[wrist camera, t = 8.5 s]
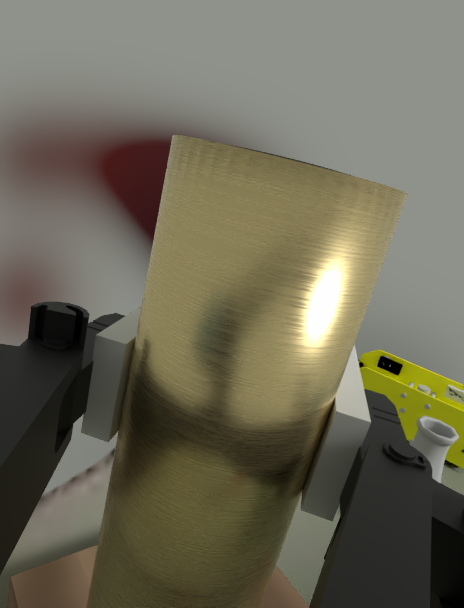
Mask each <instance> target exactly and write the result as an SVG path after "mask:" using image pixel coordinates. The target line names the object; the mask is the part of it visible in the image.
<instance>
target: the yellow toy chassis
mask: <svg viewBox="0 0 464 608" xmlns="http://www.w3.org/2000/svg"><path fill="white" fill-rule="evenodd" d="M384 356H388V357H389V358H390V359H388V358H386V357H384ZM379 358H380V359H379ZM378 361H379V362H378ZM383 364H384V365H383ZM389 365H391V366H390V367H389ZM359 368H360V373H361V377H362V382H363V387H364V389H367V390H371V391H374V392H377V393H380V394H384V395H386V396H387V397H388V399H389V400H390V401H391V402H392V403H393V404H394V405H395V407H396V410H397V413H398V417H399V418H400V421H401V425H402V427H403V430H404V433H405V436H406V439H407V440H408V441H409V444H411V442H412V441H413V439H414V437H415V435H416V432H417V430H418V426H417V420H418V419H419V418H420V417H422V416H428V417H431V418H435V419H438V420H440V421H442V422H444V423H445V424H447V425H449V426H451V427H453V428H454V429H455V431H456V433H457V434H458V436H459V438H458V440H457V441H456V442H455V443H453V444H452V445H451V446H450V447H449V449H448V452H447V454H446V457H445V460H447V461H449V462H451V463H453V464H455V465H457V466H459V467H461V468H463V469H464V400H463V399H464V391H463V390H464V385H462V384H460V383H458V382H455V381H453V380H450V379H448V378H446V377H443V376H441V375H438V374H436V373H434V372H431V371H429V370H427V369H425V368H422V367H420V366H417V365H415V364H413V363H410V362H408V361H406V360H403V359H401V358H399V357H396V356H394V355H391V354H389V353H387V352H384V351H382V350H376V351H372V352H369V353H364V354H362V356H361V358H360V361H359ZM458 394H459V397H457V395H458Z"/></svg>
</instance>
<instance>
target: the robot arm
mask: <svg viewBox="0 0 464 608" xmlns="http://www.w3.org/2000/svg"><path fill="white" fill-rule="evenodd" d="M140 312H141V307H139V308H138V309H136V310H135V311H133V312H131V313H130V314H128V315H127V316H124V315H120V314H117V313H114V314H109V315H104V316H101V317H99V318H97V319H96V320H94V321H93V322H90V323H88V319H89V313H88V312H87V311H86V310H85V309H83V308H82V307H80V306H77V305H73V304H70V303H63V302H43V303H37V304H35V305H33V306H31V314H30V324H29V334H28V339H27V340H26V341H25V342H23V343H22V344H21V345H20V346H11V345H5V344H0V575H1V573H2V571H3V569H4V567H5V565H6V563H7V561H8V559H9V557H10V556H11V554H12V552H13V550H14V548H15V546H16V544H17V542H18V540H19V538H20V536H21V534H22V532H23V531H24V529H25V527H26V525H27V523H28V521H29V519H30V517H31V515H32V513H33V511H34V509H35V507H36V506H37V504H38V502H39V500H40V498H41V496H42V494H43V492H44V490H45V488H46V486H47V484H48V482H49V481H50V479H51V477H52V475H53V473H54V471H55V469H56V467H57V465H58V463H59V461H60V459H61V457H62V456H63V454H64V452H65V450H66V448H67V446H68V444H69V442H70V440H71V436H72V428H73V423H74V422H75V421H76V420H77V419H78V418H79V417H81V416H82V415H83V414H84V417H83V423H82V429H81V433H84V434H86V435H89V436H92V437H95V438H98V439H101V440H104V441H106V442H109V441H110V440H111V439H112V437H113V436H114V435H115V434H116V433H117V432H118V430H119V426H120V421H121V415H122V410H123V405H124V399H125V394H126V388H127V383H128V377H129V372H130V366H131V361H132V355H133V350H134V345H135V339H136V334H137V328H138V323H139V317H140ZM339 503H340V513H341V516H340V519H339V521H338V524H337V526H336V529H335V531H334V534H333V537H332V539H331V542H330V544H329V547H328V549H327V552H326V554H325V557H324V559H325V561H324V564H323V567H322V570H321V573H320V576H319V579H318V582H317V585H316V588H315V591H314V594H313V597H312V600H311V603H310V606H309V608H464V496H463V495H462V494H460V493H458V492H456V491H454V490H452V489H450V488H448V487H446V486H444V485H443V484H441V483H439V482H437V481H436V480H434V479H433V478H432V467H431V464H430V462H429V461H428V459H427V458H426V457H425V456H424V455H423V454H422V453H421V452H419V451H418V450H417V449H416V448H414V447H413V446H411V445H409V444H408V442H407V439H406V436H405V433H404V430H403V427H402V425H401V421H400V418H399V417H398V413H397V410H396V407H395V405H394V404H393V403H392V402H391V401H390V400H389V399H388V397H387V396H386V395H384V394H380V393H377V392H374V391H371V390H367V389H364V387H363V382H362V377H361V373H360V368H359V364H358V359H357V354H356V350H355V345H354V346H353V349H352V352H351V355H350V357H349V360H348V363H347V366H346V369H345V371H344V374H343V377H342V380H341V383H340V386H339V388H338V391H337V394H336V397H335V399H334V402H333V405H332V408H331V411H330V413H329V416H328V419H327V422H326V425H325V428H324V430H323V433H322V436H321V439H320V442H319V444H318V447H317V450H316V453H315V456H314V459H313V461H312V464H311V467H310V470H309V473H308V475H307V478H306V481H305V484H304V487H303V489H302V500H301V510H302V511H305V512H308V513H310V514H313V515H316V516H319V517H322V518H325V519H327V520H330V521H333V519H334V516H335V513H336V511H337V508H338V506H339Z"/></svg>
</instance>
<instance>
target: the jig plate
mask: <svg viewBox="0 0 464 608" xmlns="http://www.w3.org/2000/svg"><path fill="white" fill-rule="evenodd" d="M97 546H98V545H95V546H92V547H90V548H87V549H84V550H81V551H79V552H76V553H73V554H71V555H68V556H65V557H62V558H60V559H57V560H54V561H51V562H49V563H46V564H43V565H40V566H38V567H35V568H32V569H30V570H27V571H24V572H21V573H19V574H16V575H13V576H11V577H10V586H9V595H8V603H7V608H86V606H87V601H88V595H89V590H90V584H91V579H92V573H93V568H94V563H95V557H96V552H97ZM261 608H309V606H308V605H307V603H306V602H305V601H304V600H303V598H302V597H301V596H300V595H299V593H298V592H297V591H296V590H295V588H294V587H293V586H292V585H291V583H290V582H289V581H288V580H287V578H286V577H285V576H284V575H283V573H282V572H281V571H280V570H279V568H278V567H277V566H275V569H274V571H273V574H272V577H271V580H270V583H269V586H268V588H267V591H266V594H265V597H264V600H263V602H262V605H261Z"/></svg>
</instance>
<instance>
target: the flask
mask: <svg viewBox="0 0 464 608" xmlns="http://www.w3.org/2000/svg"><path fill="white" fill-rule="evenodd" d="M417 426H418V430H417V432H416V435H415V437H414V439H413V441H412V442H411V444H410V445H411V446H413V447H414V448H416V449H417V450H418V451H419V452H421V453H422V454H423V455H424V456H425V457H426V458H427V459H428V461H429V462H430V464H431V467H432V478H433V479H434V480H436V481H437V482H439V483H441V475H442V470H443V466H444V461H445V457H446V454H447V452H448V449H449V447H450V446H451V445H452V444H453V443H455V442H456V441H457V440H458V438H459V436H458V434H457V433H456V431H455V429H454V428H453V427H451V426H449V425H447V424H445V423H444V422H442V421H440V420H438V419H435V418H431V417H428V416H422V417H420V418H419V419H418V420H417Z"/></svg>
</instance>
